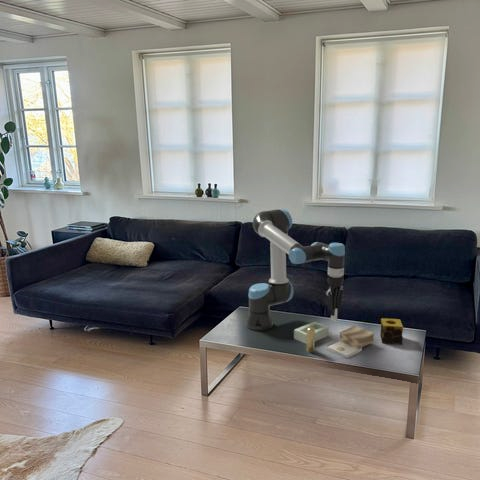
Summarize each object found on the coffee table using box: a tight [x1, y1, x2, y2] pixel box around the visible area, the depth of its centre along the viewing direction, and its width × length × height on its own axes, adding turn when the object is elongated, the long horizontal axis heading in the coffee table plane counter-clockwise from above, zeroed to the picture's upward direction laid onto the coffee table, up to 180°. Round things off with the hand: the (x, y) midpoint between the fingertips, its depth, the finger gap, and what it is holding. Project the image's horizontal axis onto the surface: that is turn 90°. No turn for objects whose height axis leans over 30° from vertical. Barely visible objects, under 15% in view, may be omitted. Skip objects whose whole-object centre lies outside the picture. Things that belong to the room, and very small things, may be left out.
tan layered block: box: [339, 325, 375, 349], centre depth 231 cm, size 12×12×5 cm
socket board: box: [293, 321, 330, 345], centre depth 241 cm, size 10×16×5 cm, turn 130°
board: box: [326, 340, 363, 359], centre depth 226 cm, size 12×12×2 cm
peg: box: [305, 327, 316, 353], centre depth 225 cm, size 4×4×12 cm
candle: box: [379, 317, 404, 346], centre depth 235 cm, size 10×10×10 cm
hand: (333, 320), depth 223 cm, fingers closed
